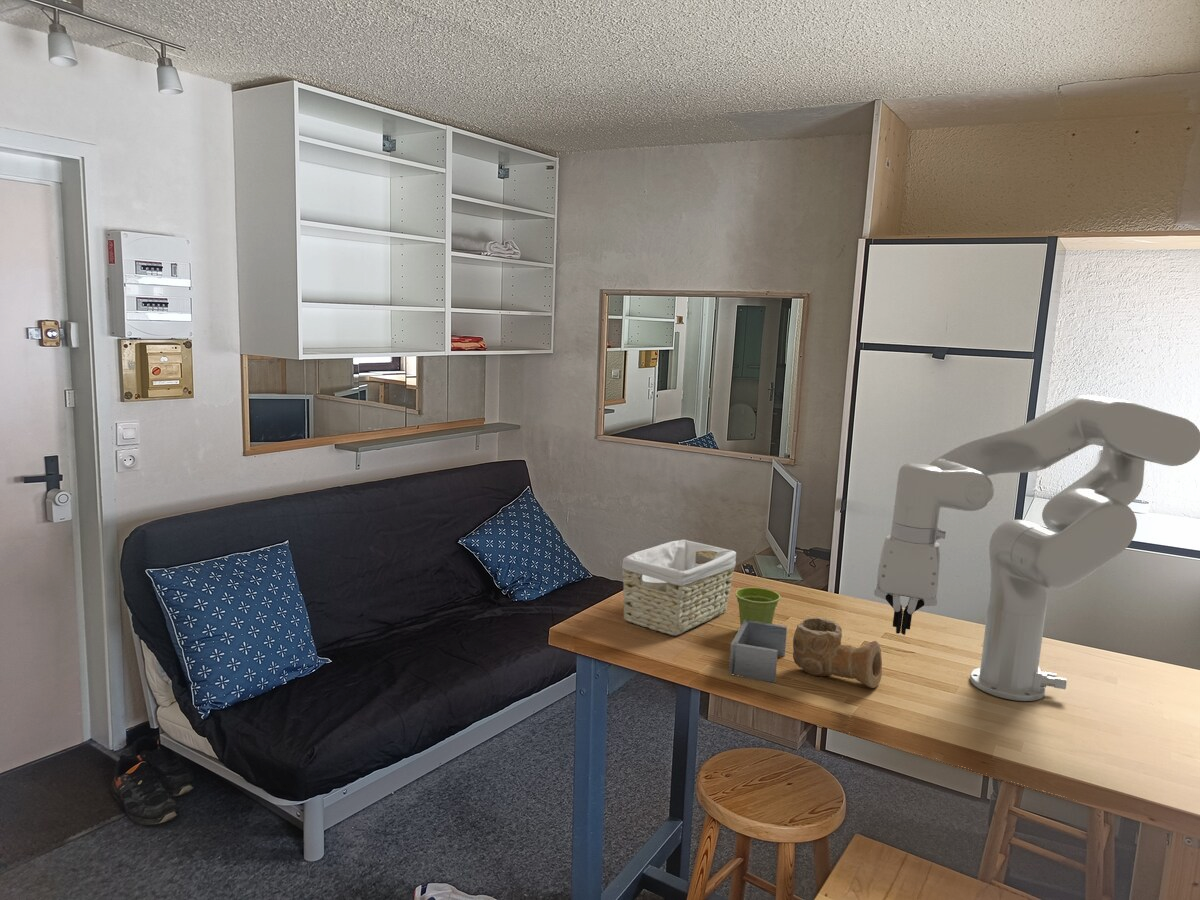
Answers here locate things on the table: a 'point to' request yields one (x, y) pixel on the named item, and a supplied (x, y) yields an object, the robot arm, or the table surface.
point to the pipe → (835, 653)
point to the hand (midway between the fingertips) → (900, 631)
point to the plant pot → (757, 604)
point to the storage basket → (676, 585)
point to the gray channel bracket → (757, 650)
